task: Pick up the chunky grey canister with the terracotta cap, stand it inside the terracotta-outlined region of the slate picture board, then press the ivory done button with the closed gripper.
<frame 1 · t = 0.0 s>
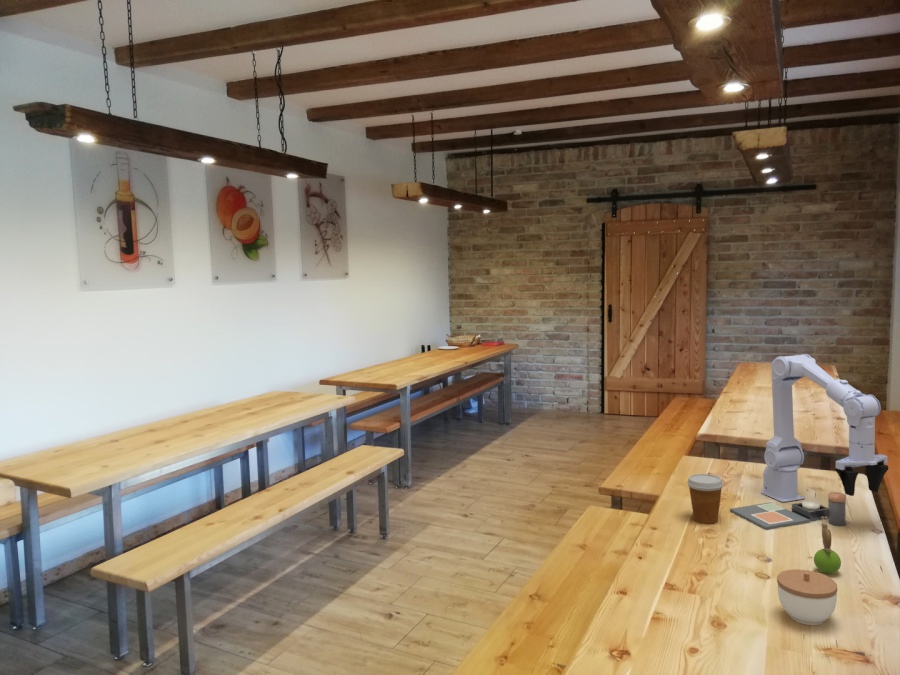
hand: (861, 492, 175), 10 cm above the table, fingers open, 7 cm apart
grey canister: (836, 523, 181), on the table
disposable coffee cup: (705, 520, 189), on the table
picture board: (768, 516, 188), on the table
snail figurine: (826, 572, 154), on the table
done button: (810, 505, 187), point 3 cm above the table, slide at 0.0 cm
lidded jar: (806, 618, 135), on the table
button housing: (810, 515, 188), on the table
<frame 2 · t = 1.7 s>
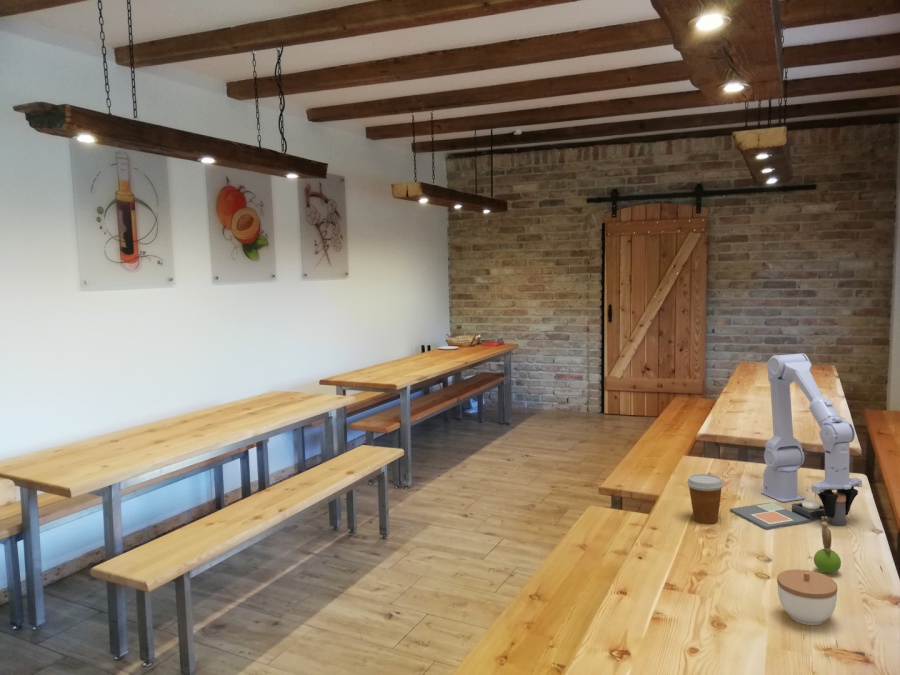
hand: (836, 515, 181), 2 cm above the table, fingers closed on grey canister, 4 cm apart
grey canister: (836, 523, 181), on the table, touching gripper
everything else where it was.
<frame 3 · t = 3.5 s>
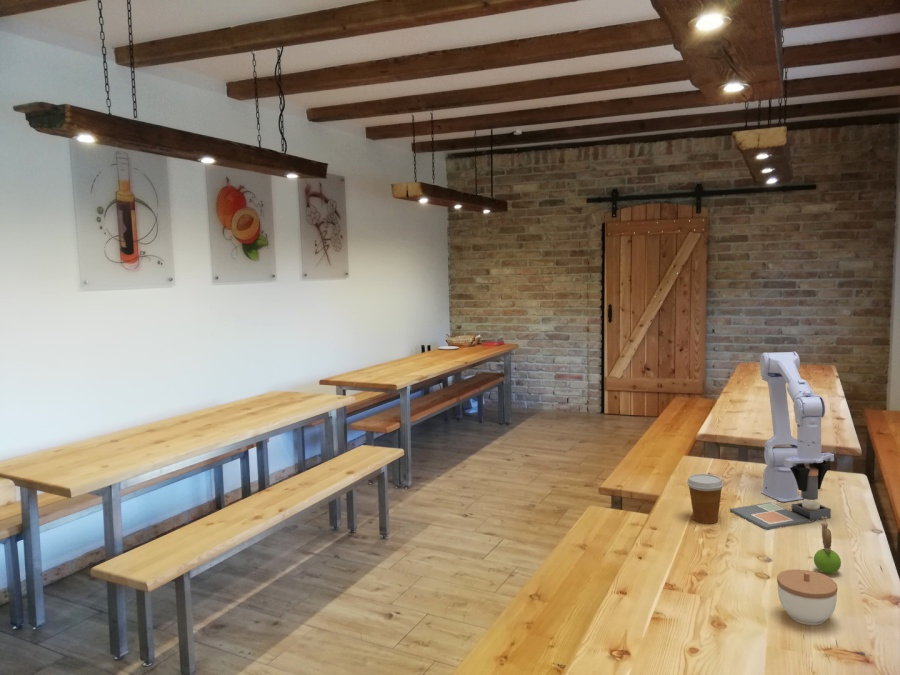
hand: (809, 489, 182), 9 cm above the table, fingers closed on grey canister, 4 cm apart
grey canister: (809, 497, 183), point 7 cm above the table, touching gripper
everything else where it was.
when the fingers open (4 cm above the table, at t = 5.4 s): grey canister drops 1 cm, resting on picture board.
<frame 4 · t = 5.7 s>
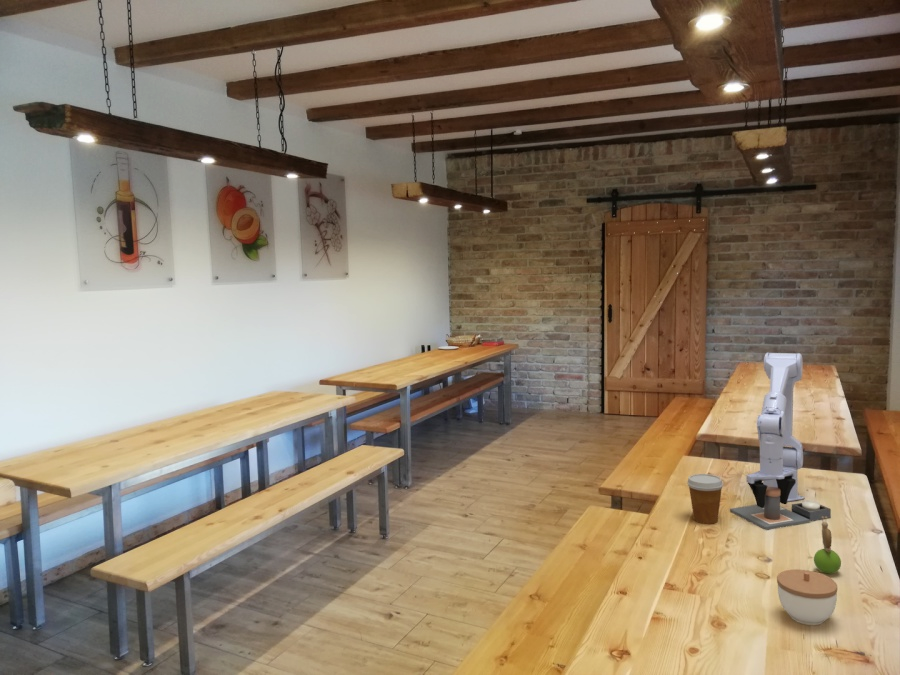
hand: (771, 505, 185), 4 cm above the table, fingers open, 7 cm apart
grey canister: (772, 517, 186), point 1 cm above the table, touching picture board
everything else where it was.
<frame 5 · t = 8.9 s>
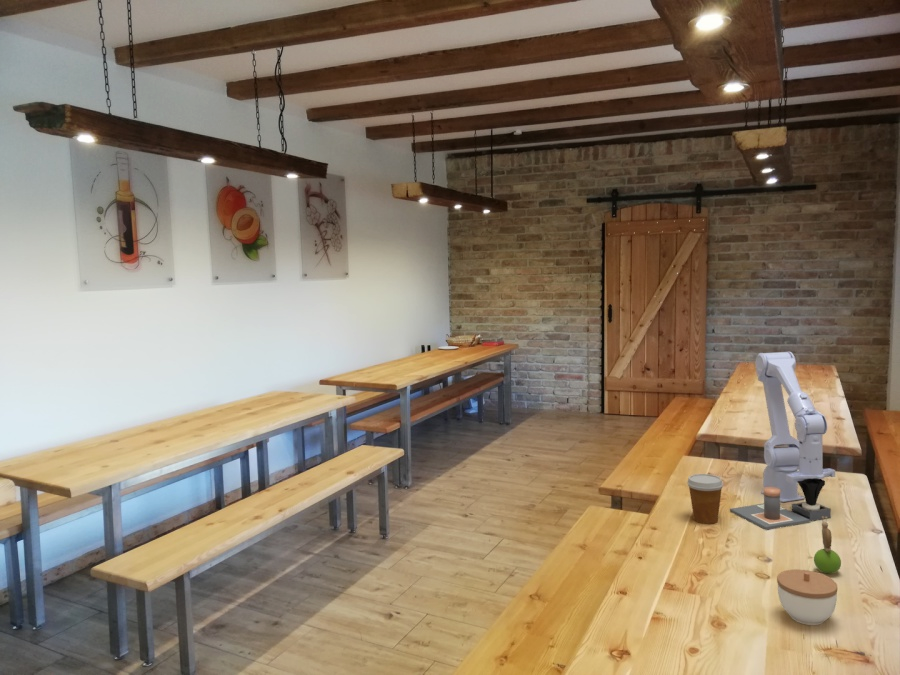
hand: (811, 504, 187), 3 cm above the table, fingers closed, pressing on done button
done button: (810, 506, 187), point 2 cm above the table, slide at 0.3 cm, touching gripper
everything else where it was.
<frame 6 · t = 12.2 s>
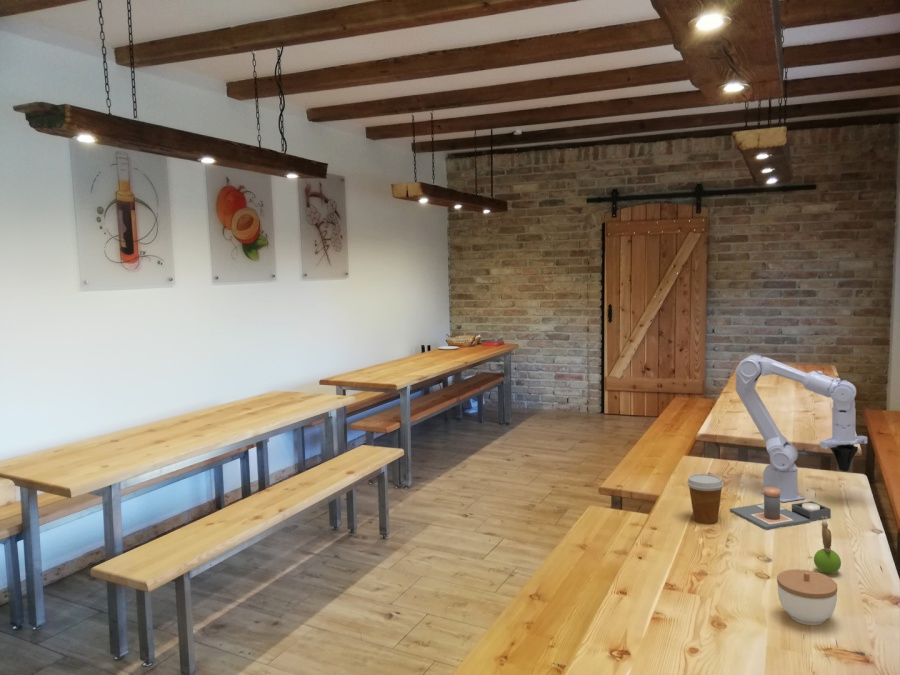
hand: (843, 470, 193), 10 cm above the table, fingers closed
done button: (810, 508, 187), point 2 cm above the table, slide at 0.7 cm
everything else where it was.
at the end: grey canister 0.1 cm from the target spot, point 0.9 cm above the table; grey canister tilted 0°; done button slide at 0.7 cm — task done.
